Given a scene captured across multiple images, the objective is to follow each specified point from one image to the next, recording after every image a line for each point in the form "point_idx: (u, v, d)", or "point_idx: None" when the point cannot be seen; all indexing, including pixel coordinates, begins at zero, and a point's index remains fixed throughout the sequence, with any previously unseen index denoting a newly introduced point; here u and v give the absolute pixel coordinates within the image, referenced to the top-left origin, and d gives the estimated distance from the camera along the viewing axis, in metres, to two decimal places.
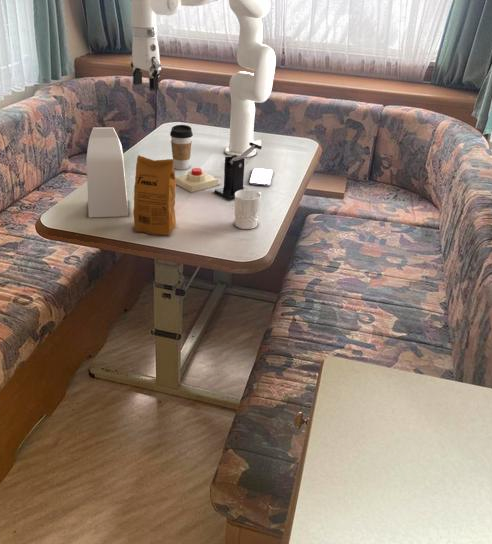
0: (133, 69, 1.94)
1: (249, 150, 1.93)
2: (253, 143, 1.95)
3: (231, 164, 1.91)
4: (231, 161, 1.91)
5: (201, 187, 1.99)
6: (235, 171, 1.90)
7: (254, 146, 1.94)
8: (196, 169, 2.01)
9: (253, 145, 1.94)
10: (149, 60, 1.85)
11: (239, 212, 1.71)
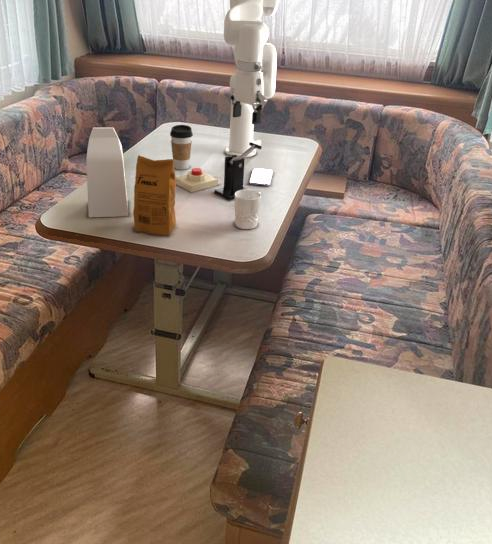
0: (233, 102, 1.92)
1: (249, 150, 1.93)
2: (253, 143, 1.95)
3: (231, 164, 1.91)
4: (231, 161, 1.91)
5: (201, 187, 1.99)
6: (235, 171, 1.90)
7: (254, 146, 1.94)
8: (196, 169, 2.01)
9: (253, 145, 1.94)
10: (254, 94, 1.83)
11: (239, 212, 1.71)
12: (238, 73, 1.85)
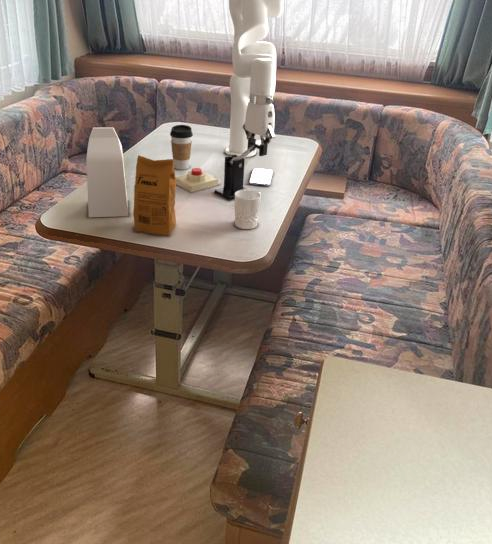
0: (248, 136, 1.96)
1: (249, 150, 1.93)
2: (253, 143, 1.95)
3: (231, 164, 1.91)
4: (231, 161, 1.91)
5: (201, 187, 1.99)
6: (235, 171, 1.90)
7: (254, 146, 1.94)
8: (196, 169, 2.01)
9: (253, 145, 1.94)
10: (266, 126, 1.87)
11: (239, 212, 1.71)
12: (249, 105, 1.89)
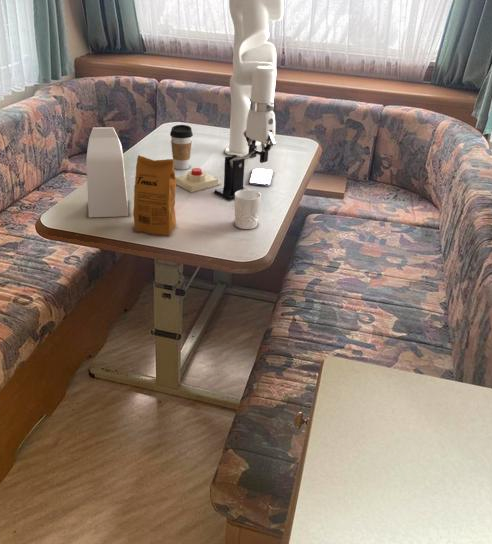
0: (249, 143, 1.97)
1: (250, 154, 1.94)
2: (254, 149, 1.97)
3: (231, 163, 1.91)
4: (232, 160, 1.91)
5: (201, 187, 1.99)
6: (235, 171, 1.90)
7: (255, 151, 1.95)
8: (196, 169, 2.01)
9: (254, 151, 1.96)
10: (267, 133, 1.89)
11: (239, 212, 1.71)
12: (250, 112, 1.91)
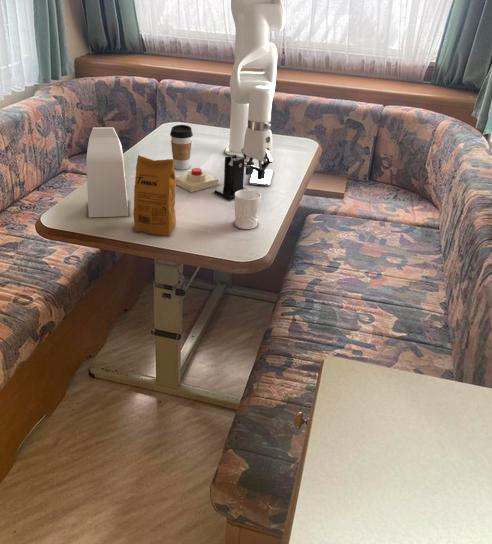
0: (246, 160, 2.00)
1: (249, 165, 1.96)
2: (253, 165, 1.99)
3: (232, 161, 1.91)
4: (233, 158, 1.91)
5: (201, 187, 1.99)
6: (235, 171, 1.90)
7: (254, 166, 1.98)
8: (196, 169, 2.01)
9: (253, 166, 1.98)
10: (264, 151, 1.92)
11: (239, 212, 1.71)
12: (248, 131, 1.93)
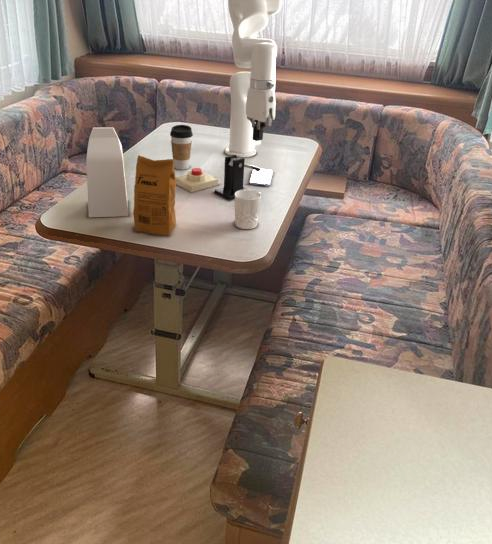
0: (253, 124, 1.92)
1: (249, 165, 1.96)
2: (253, 165, 1.99)
3: (232, 161, 1.91)
4: (233, 158, 1.91)
5: (201, 187, 1.99)
6: (235, 171, 1.90)
7: (254, 166, 1.98)
8: (196, 169, 2.01)
9: (253, 166, 1.98)
10: (267, 111, 1.85)
11: (239, 212, 1.71)
12: (250, 90, 1.87)
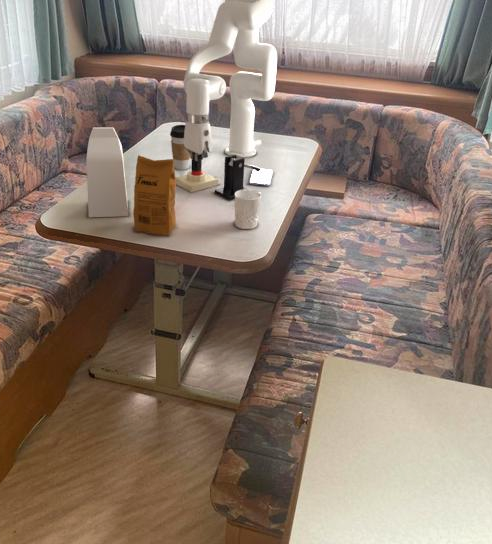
0: (191, 156, 1.98)
1: (249, 165, 1.96)
2: (253, 165, 1.99)
3: (232, 161, 1.91)
4: (233, 158, 1.91)
5: (201, 187, 1.99)
6: (235, 171, 1.90)
7: (254, 166, 1.98)
8: None
9: (253, 166, 1.98)
10: (202, 144, 1.91)
11: (239, 212, 1.71)
12: (187, 124, 1.93)
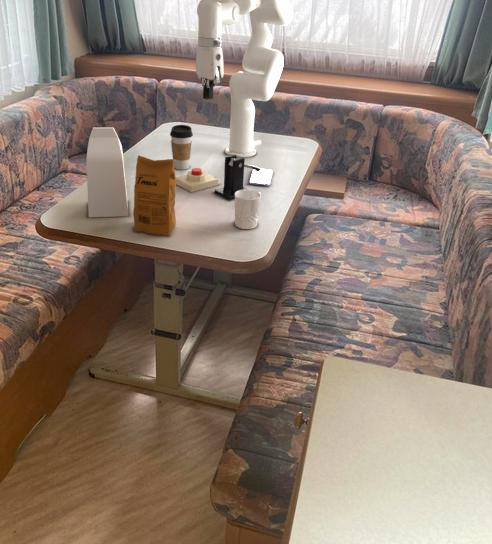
0: (203, 83, 1.98)
1: (249, 165, 1.96)
2: (253, 165, 1.99)
3: (232, 161, 1.91)
4: (233, 158, 1.91)
5: (201, 187, 1.99)
6: (235, 171, 1.90)
7: (254, 166, 1.98)
8: (196, 169, 2.01)
9: (253, 166, 1.98)
10: (214, 69, 1.91)
11: (239, 212, 1.71)
12: (199, 49, 1.92)
